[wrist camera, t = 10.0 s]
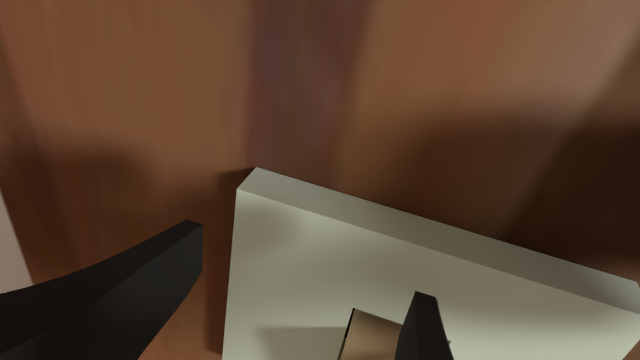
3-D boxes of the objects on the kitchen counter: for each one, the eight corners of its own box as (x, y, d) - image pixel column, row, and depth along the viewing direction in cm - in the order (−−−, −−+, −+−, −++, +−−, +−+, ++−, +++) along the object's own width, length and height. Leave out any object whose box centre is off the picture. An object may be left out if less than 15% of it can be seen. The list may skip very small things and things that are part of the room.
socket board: (636, 281, 21) (656, 319, 19) (506, 450, 29) (510, 489, 27) (256, 167, 24) (236, 188, 22) (235, 349, 32) (220, 378, 30)
